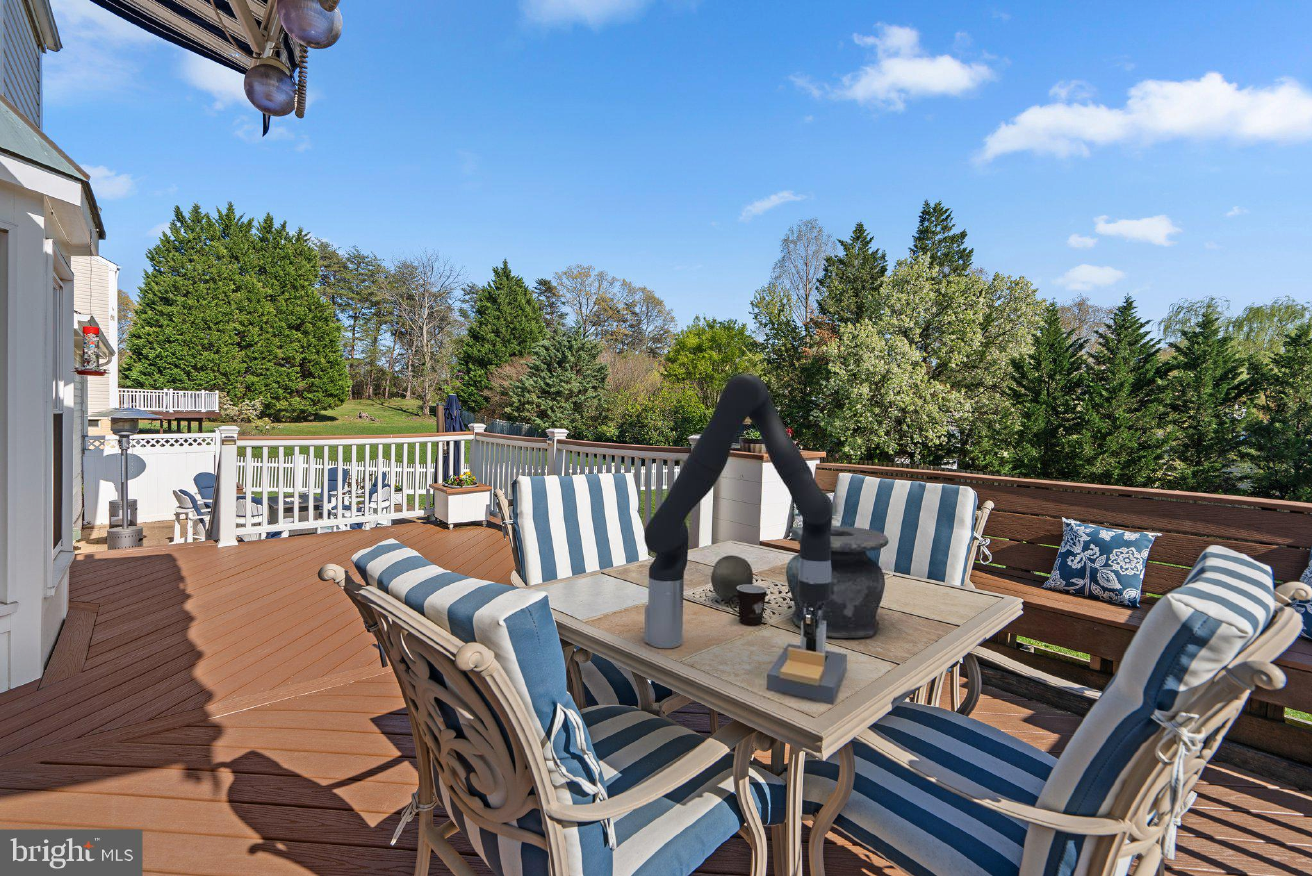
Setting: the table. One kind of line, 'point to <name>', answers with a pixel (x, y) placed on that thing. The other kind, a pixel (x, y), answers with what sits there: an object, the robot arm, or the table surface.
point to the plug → (819, 640)
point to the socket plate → (822, 692)
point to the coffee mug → (750, 604)
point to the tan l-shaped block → (803, 666)
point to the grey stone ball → (730, 576)
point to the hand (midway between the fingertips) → (812, 650)
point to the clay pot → (846, 583)
